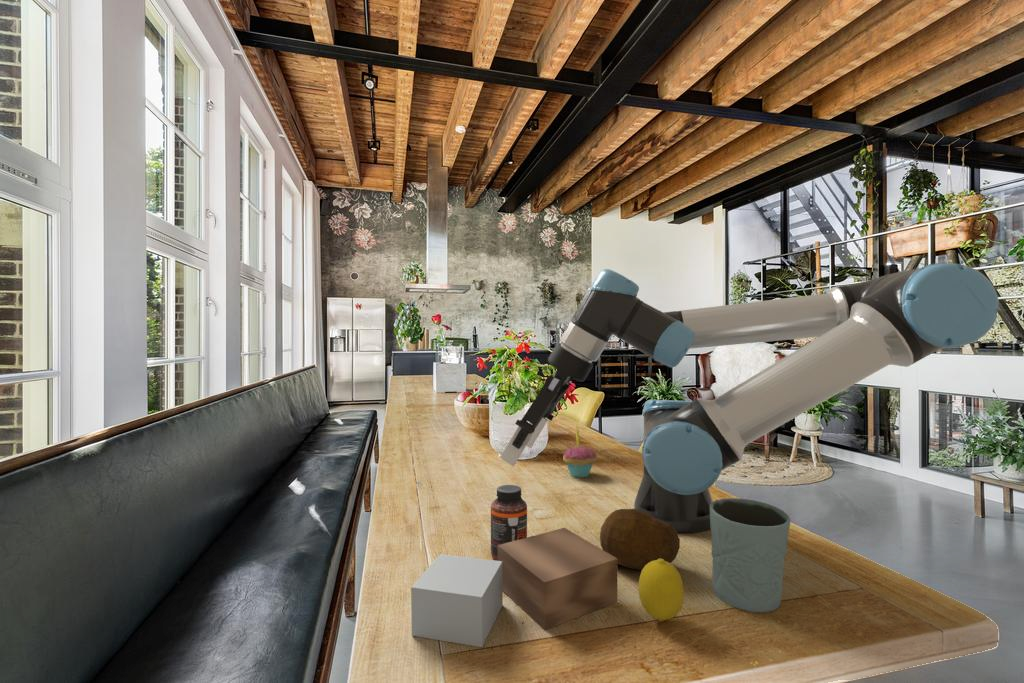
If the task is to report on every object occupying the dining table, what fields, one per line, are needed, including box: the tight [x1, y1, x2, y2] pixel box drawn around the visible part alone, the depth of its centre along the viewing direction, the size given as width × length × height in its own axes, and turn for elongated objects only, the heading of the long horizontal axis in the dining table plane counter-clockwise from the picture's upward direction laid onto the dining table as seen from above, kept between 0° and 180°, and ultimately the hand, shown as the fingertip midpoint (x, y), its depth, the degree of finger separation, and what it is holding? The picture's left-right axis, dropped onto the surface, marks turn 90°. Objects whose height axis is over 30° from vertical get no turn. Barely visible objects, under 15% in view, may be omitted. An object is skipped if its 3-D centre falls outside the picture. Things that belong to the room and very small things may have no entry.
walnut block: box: [497, 527, 619, 631], centre depth 69 cm, size 12×12×6 cm
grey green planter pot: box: [710, 497, 791, 613], centre depth 69 cm, size 10×10×12 cm
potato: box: [599, 508, 681, 571], centre depth 77 cm, size 8×12×9 cm
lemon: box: [637, 558, 685, 623], centre depth 63 cm, size 6×6×8 cm
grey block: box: [410, 553, 504, 648], centre depth 63 cm, size 9×9×6 cm
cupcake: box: [562, 425, 598, 479], centre depth 124 cm, size 9×8×12 cm
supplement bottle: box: [490, 484, 528, 561], centre depth 80 cm, size 6×6×11 cm
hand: (516, 452), depth 90 cm, fingers open, 13 cm apart
